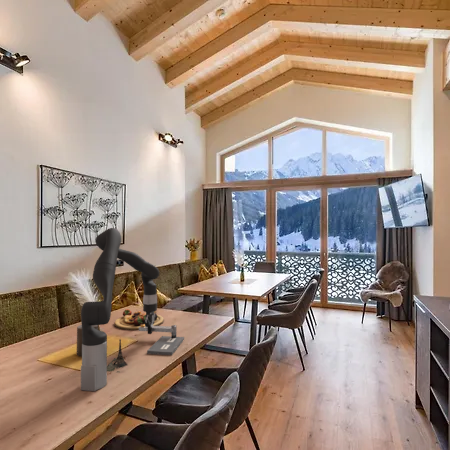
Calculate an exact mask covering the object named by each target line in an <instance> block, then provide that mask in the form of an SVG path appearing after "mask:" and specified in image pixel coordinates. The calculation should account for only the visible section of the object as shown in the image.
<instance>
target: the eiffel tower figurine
mask: <svg viewBox="0 0 450 450" xmlns="http://www.w3.org/2000/svg"><path fill="white" fill-rule="evenodd" d="M126 366H128V363H127V362H126V360H125V358H124V357H123V353H122V339H121V338H119V345H118V352H117V357H116V358H113V359H112V360H111V361H110V363H108V364H107V372H114V371H115V370H117V369H120V368H123V367H126ZM116 373H119V371H116Z"/></svg>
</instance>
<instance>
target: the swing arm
mask: <svg viewBox="0 0 450 450" xmlns="http://www.w3.org/2000/svg"><path fill="white" fill-rule="evenodd" d="M138 332H148V327H146V326H145V325H144V324H142V325H141V326H140V327H139V330H138ZM155 332H156V333H157V332H158V333H171V337H172V338H176V337H177V325H176V324H172V325H171V326H168V325H166V326H164V325H159V326H152V333H155Z"/></svg>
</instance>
